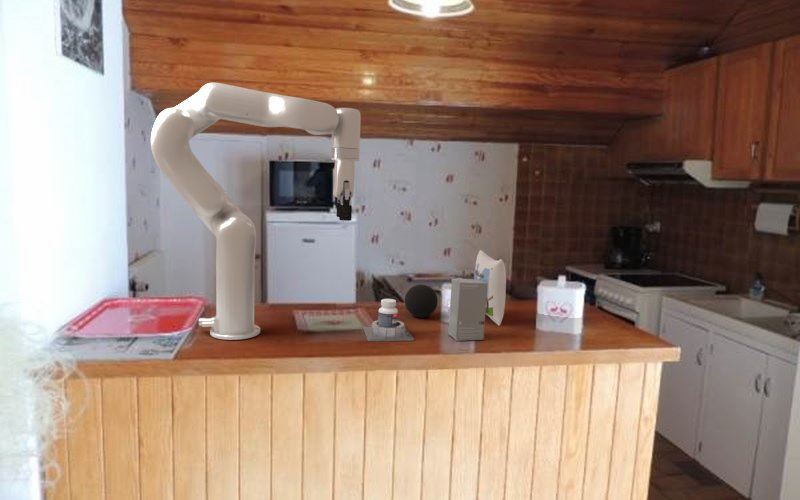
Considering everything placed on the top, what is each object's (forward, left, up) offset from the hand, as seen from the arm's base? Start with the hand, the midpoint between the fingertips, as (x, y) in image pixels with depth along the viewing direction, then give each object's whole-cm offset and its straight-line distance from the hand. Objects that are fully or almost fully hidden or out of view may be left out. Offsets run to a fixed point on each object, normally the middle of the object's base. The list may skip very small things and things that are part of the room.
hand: (343, 218), depth 156 cm
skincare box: (+33, -12, -31) cm, 47 cm away
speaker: (+25, +9, -31) cm, 40 cm away
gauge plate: (+12, -9, -30) cm, 34 cm away
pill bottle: (+12, -9, -30) cm, 33 cm away
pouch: (+46, +7, -31) cm, 56 cm away
